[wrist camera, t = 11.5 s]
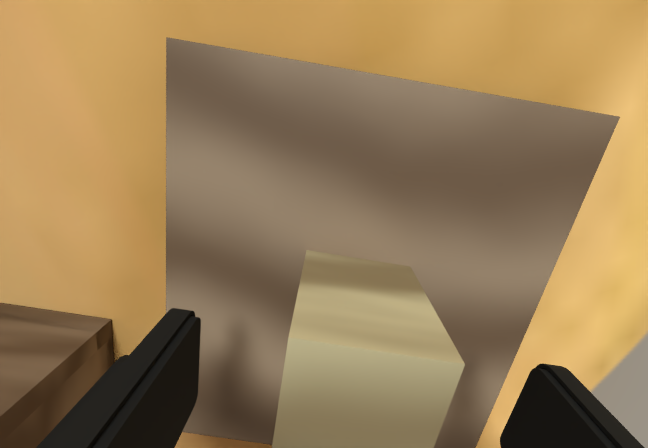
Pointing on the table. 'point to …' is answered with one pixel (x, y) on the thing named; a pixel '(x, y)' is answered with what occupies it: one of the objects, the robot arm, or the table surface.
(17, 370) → the box
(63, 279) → the table surface
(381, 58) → the table surface
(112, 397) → the robot arm
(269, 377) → the lid
